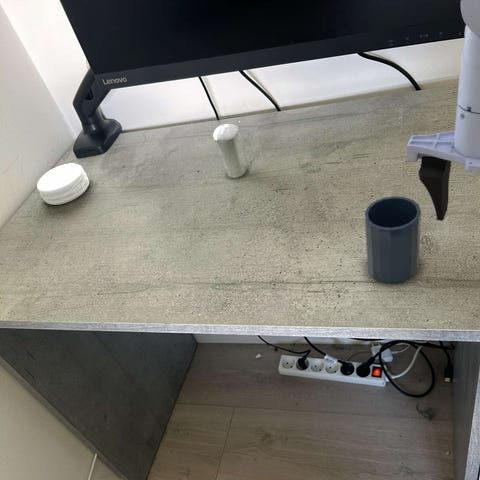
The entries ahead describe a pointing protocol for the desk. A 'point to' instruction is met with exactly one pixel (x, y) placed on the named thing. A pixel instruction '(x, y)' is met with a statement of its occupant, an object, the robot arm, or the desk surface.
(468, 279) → the desk surface
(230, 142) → the milkshake
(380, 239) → the tumbler
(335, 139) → the desk surface
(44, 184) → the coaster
